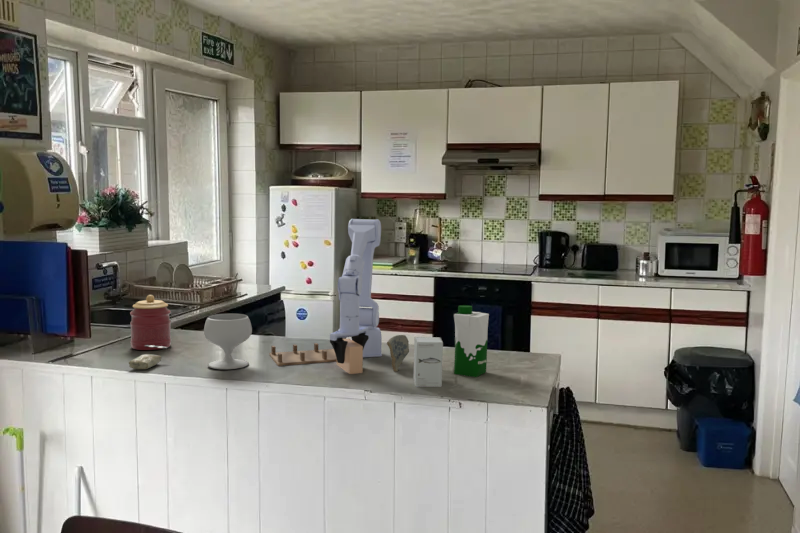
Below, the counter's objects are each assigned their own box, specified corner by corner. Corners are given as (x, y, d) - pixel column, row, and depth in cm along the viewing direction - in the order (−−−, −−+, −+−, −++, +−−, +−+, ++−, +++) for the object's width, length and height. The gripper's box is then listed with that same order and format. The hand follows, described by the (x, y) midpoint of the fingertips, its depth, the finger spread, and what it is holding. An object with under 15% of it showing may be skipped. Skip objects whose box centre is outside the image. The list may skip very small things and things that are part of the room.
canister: (179, 345, 235) (178, 294, 234) (147, 352, 224) (146, 298, 223) (154, 341, 242) (153, 291, 241) (122, 347, 231) (121, 295, 230)
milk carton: (463, 369, 208) (464, 303, 206) (490, 373, 204) (492, 306, 202) (449, 375, 201) (451, 307, 199) (477, 379, 196) (479, 310, 194)
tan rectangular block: (348, 364, 213) (349, 338, 212) (362, 373, 202) (362, 346, 201) (336, 365, 211) (336, 339, 210) (349, 374, 200) (349, 347, 199)
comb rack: (338, 350, 231) (338, 341, 231) (350, 360, 217) (351, 350, 217) (269, 355, 223) (269, 345, 223) (277, 366, 209) (277, 355, 209)
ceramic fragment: (394, 373, 202) (394, 340, 201) (384, 372, 203) (385, 338, 202) (411, 366, 211) (411, 334, 210) (402, 365, 213) (402, 332, 212)
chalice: (213, 359, 216) (212, 312, 214) (257, 361, 215) (257, 313, 214) (197, 370, 202) (196, 320, 200) (244, 372, 201) (244, 321, 200)
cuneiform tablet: (168, 347, 213) (149, 356, 201) (167, 361, 213) (148, 371, 201) (146, 344, 214) (126, 353, 202) (146, 359, 214) (126, 368, 202)
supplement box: (415, 387, 187) (416, 341, 186) (413, 380, 195) (414, 336, 193) (442, 387, 188) (443, 341, 186) (439, 380, 195) (440, 336, 194)
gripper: (356, 311, 213) (356, 354, 214) (322, 317, 202) (322, 362, 203) (373, 314, 209) (373, 358, 210) (339, 320, 197) (339, 366, 199)
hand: (349, 360), depth 206 cm, fingers open, 7 cm apart
